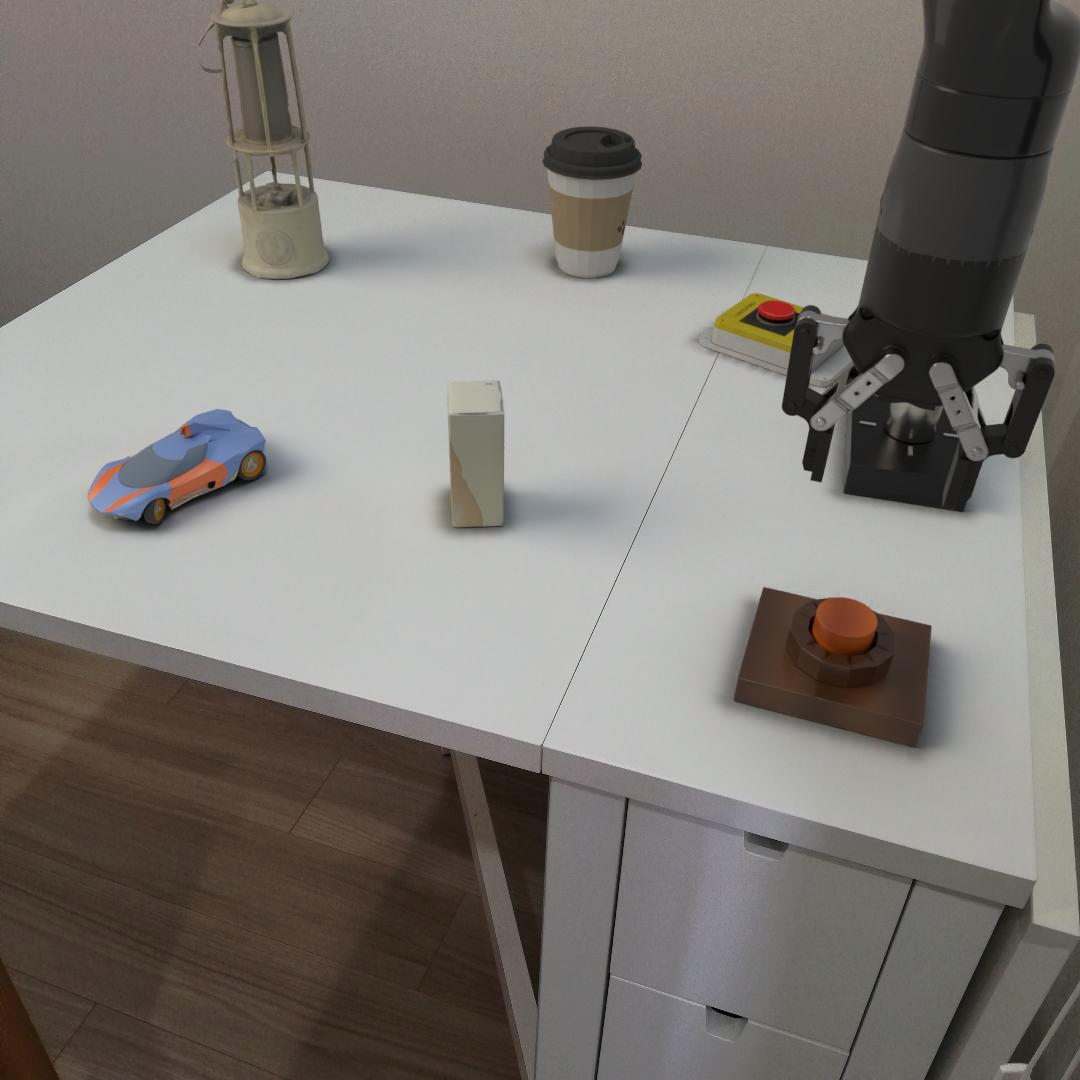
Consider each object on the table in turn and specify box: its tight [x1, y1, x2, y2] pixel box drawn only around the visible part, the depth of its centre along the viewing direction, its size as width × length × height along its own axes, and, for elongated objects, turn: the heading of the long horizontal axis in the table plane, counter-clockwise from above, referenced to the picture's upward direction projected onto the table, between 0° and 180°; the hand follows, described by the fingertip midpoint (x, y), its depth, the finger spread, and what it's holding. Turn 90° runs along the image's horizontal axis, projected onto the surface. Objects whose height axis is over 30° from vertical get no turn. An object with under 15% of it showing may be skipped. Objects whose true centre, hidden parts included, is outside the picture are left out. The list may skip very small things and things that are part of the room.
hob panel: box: [842, 394, 968, 512], centre depth 95 cm, size 14×10×3 cm
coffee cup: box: [541, 125, 643, 279], centre depth 123 cm, size 11×11×15 cm
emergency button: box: [698, 292, 853, 388], centre depth 110 cm, size 9×4×15 cm
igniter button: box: [812, 596, 878, 656], centre depth 71 cm, size 4×4×2 cm
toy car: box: [87, 408, 267, 525], centre depth 88 cm, size 8×15×5 cm, turn 138°
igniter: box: [733, 586, 933, 748], centre depth 73 cm, size 12×10×4 cm
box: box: [446, 379, 505, 528], centre depth 85 cm, size 5×4×11 cm
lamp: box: [198, 0, 330, 280], centre depth 118 cm, size 10×13×30 cm
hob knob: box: [884, 403, 944, 443], centre depth 92 cm, size 4×4×5 cm
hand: (882, 488), depth 64 cm, fingers open, 7 cm apart
